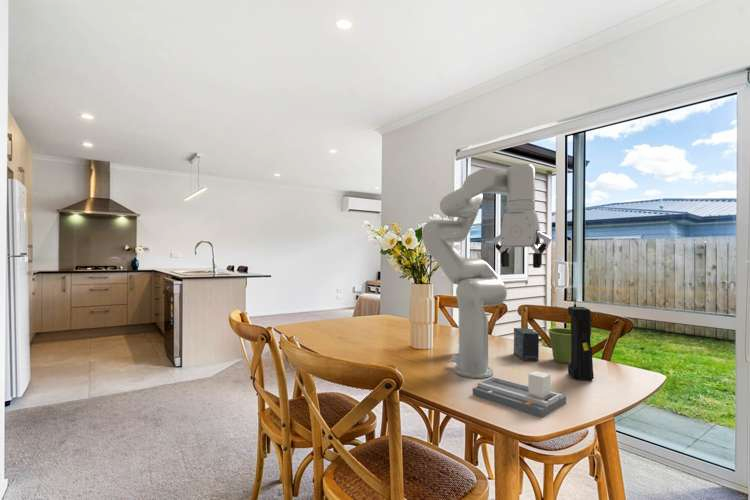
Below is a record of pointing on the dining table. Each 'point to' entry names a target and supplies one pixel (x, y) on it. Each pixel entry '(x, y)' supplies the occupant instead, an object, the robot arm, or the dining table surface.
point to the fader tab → (539, 385)
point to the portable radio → (580, 344)
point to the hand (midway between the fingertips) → (520, 267)
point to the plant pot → (561, 344)
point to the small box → (526, 344)
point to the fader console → (517, 396)
